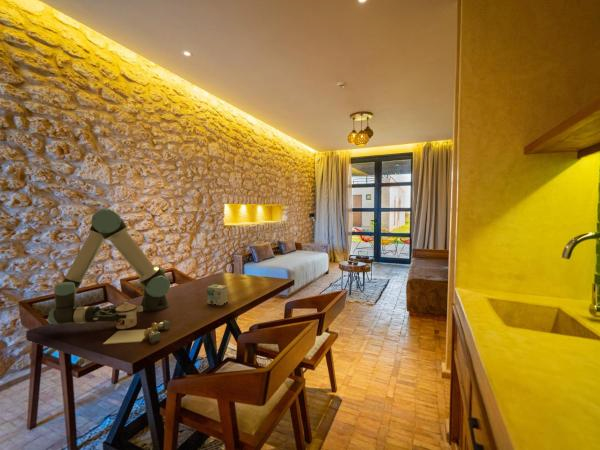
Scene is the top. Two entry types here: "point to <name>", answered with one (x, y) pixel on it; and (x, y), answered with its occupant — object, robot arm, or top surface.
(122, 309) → the teacup with lid
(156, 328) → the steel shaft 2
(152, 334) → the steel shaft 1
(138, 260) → the robot arm
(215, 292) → the light bulb box
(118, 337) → the pad
